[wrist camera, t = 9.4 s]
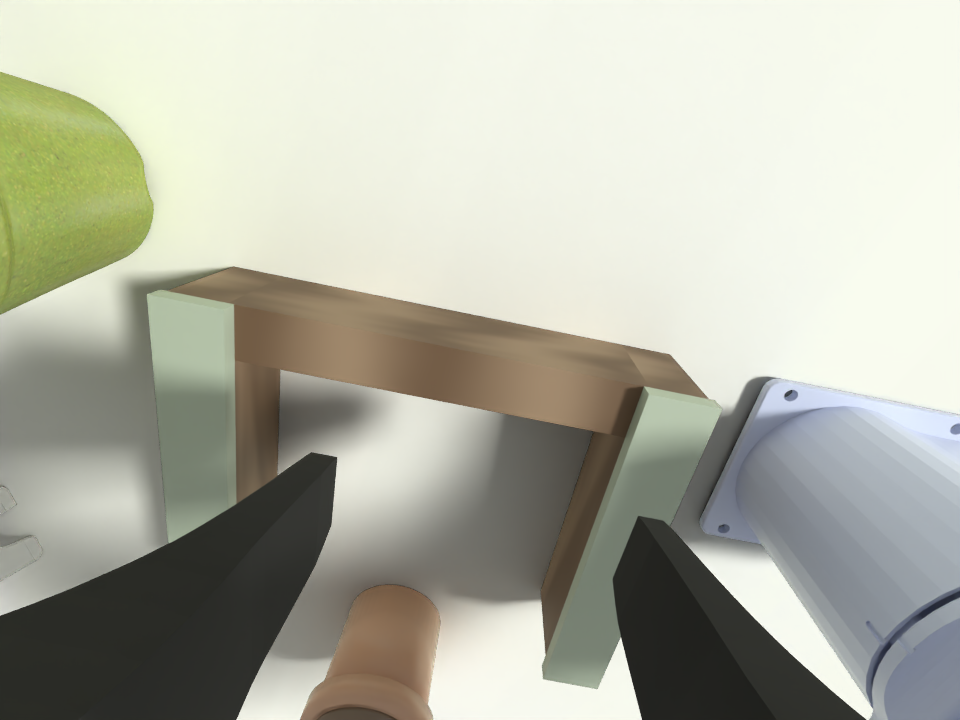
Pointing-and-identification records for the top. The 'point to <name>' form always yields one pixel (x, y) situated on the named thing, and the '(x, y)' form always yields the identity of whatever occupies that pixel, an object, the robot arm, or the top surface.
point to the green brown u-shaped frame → (434, 375)
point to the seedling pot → (381, 660)
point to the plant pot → (63, 191)
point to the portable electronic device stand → (16, 544)
